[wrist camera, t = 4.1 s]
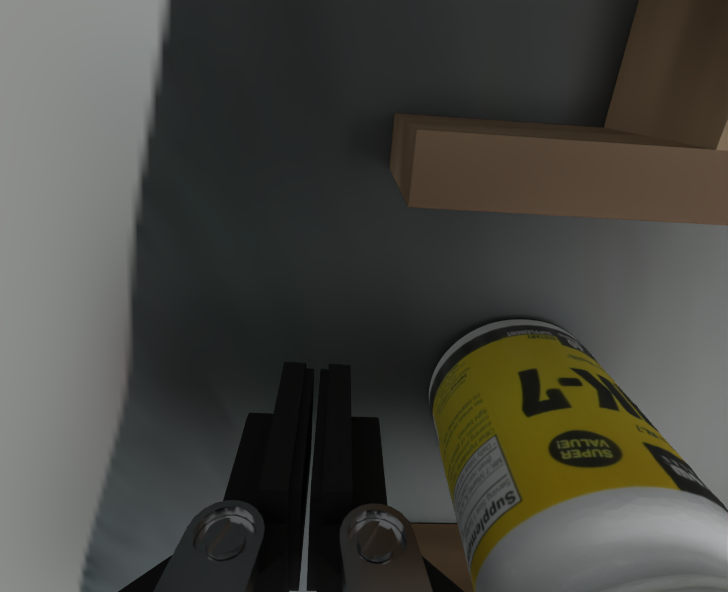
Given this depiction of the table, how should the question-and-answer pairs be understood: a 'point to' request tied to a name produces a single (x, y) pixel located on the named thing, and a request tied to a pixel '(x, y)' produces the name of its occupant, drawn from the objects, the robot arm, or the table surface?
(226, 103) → the table surface
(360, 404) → the table surface
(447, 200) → the zigzag wooden rail
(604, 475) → the supplement bottle
